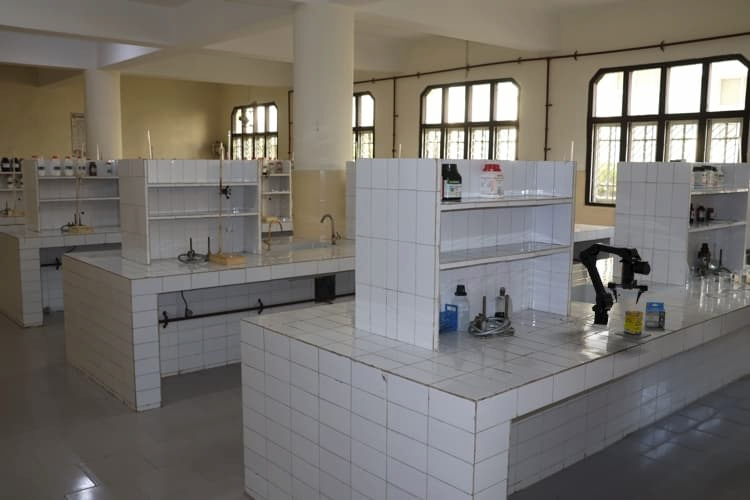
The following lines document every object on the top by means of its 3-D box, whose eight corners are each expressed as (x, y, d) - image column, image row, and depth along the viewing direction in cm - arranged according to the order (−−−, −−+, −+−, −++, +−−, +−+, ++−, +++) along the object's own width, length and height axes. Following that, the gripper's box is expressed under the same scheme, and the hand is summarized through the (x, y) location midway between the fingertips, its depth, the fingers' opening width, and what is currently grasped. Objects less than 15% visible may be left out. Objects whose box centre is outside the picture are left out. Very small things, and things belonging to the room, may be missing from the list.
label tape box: (646, 327, 341) (648, 303, 340) (644, 325, 345) (646, 301, 344) (664, 327, 340) (666, 304, 338) (662, 326, 344) (664, 302, 342)
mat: (638, 339, 317) (638, 338, 317) (615, 334, 326) (615, 333, 326) (650, 335, 325) (650, 334, 325) (627, 330, 334) (627, 329, 333)
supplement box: (634, 335, 321) (635, 313, 320) (623, 333, 326) (625, 310, 325) (641, 334, 324) (643, 311, 323) (631, 331, 329) (632, 309, 328)
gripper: (607, 273, 329) (606, 304, 331) (649, 276, 322) (646, 308, 324) (608, 270, 339) (607, 300, 341) (648, 272, 333) (646, 303, 335)
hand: (626, 303), depth 335 cm, fingers open, 9 cm apart
